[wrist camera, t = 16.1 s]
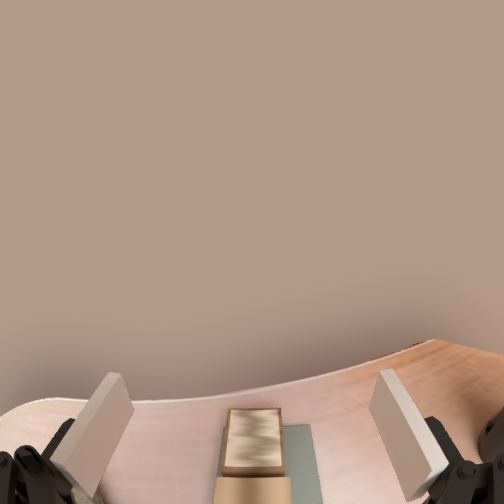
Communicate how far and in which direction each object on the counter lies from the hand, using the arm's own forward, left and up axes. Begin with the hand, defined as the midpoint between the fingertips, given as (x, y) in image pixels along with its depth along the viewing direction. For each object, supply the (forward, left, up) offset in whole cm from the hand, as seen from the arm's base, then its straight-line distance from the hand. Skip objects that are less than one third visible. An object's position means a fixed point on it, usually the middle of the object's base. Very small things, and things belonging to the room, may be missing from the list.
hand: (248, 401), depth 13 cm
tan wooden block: (+1, -8, -29) cm, 31 cm away
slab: (+1, -12, -28) cm, 31 cm away
